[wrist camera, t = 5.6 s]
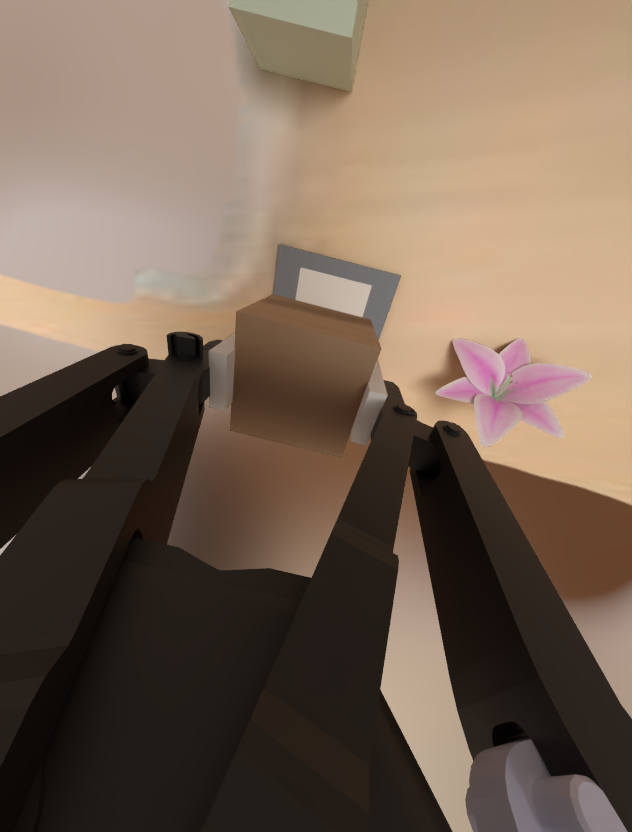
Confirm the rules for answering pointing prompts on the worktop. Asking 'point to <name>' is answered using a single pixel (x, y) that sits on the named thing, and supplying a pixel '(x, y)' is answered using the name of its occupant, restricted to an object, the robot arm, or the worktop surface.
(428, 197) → the worktop surface
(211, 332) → the worktop surface
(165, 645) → the robot arm
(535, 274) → the worktop surface
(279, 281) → the slate build plate
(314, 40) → the sage block
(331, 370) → the walnut block
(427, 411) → the worktop surface
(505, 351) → the lily
